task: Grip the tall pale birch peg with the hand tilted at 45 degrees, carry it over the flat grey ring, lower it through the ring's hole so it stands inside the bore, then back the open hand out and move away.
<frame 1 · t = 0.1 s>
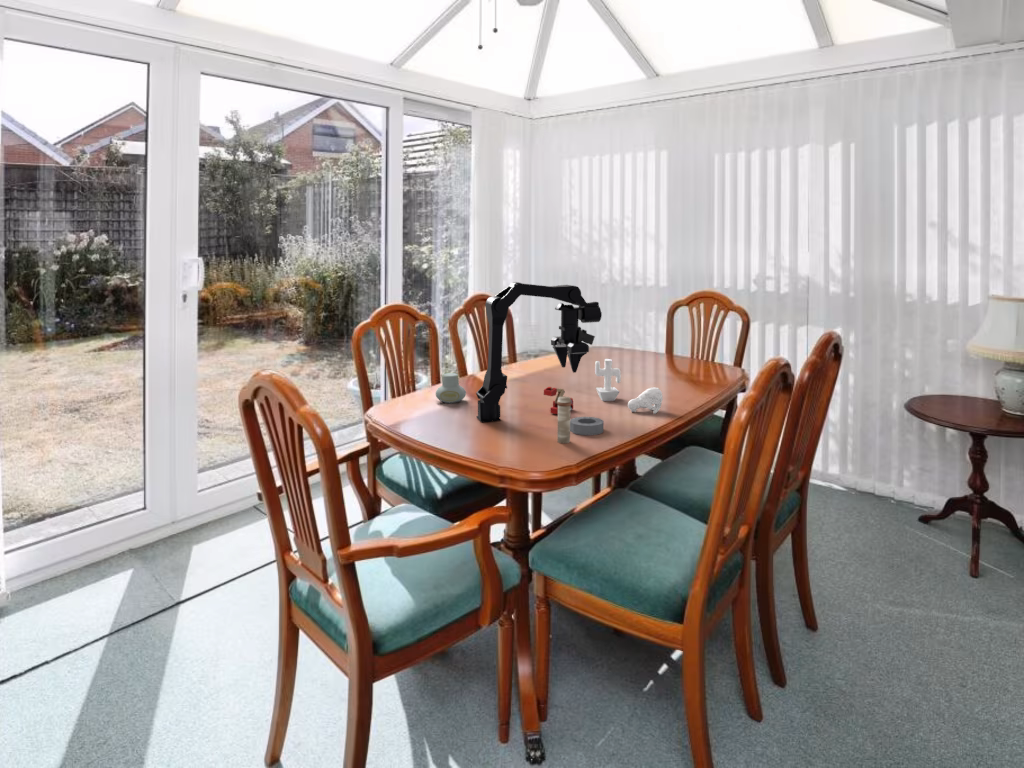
hand: (569, 369, 216), 15 cm above the table, tool pointing down, fingers open, 9 cm apart
figurine: (607, 399, 236), on the table
toy fire truck: (559, 413, 218), on the table
air freshener: (451, 402, 234), on the table
birch peg: (563, 441, 187), on the table
grey ring: (586, 430, 197), on the table
white animal statue: (644, 412, 219), on the table
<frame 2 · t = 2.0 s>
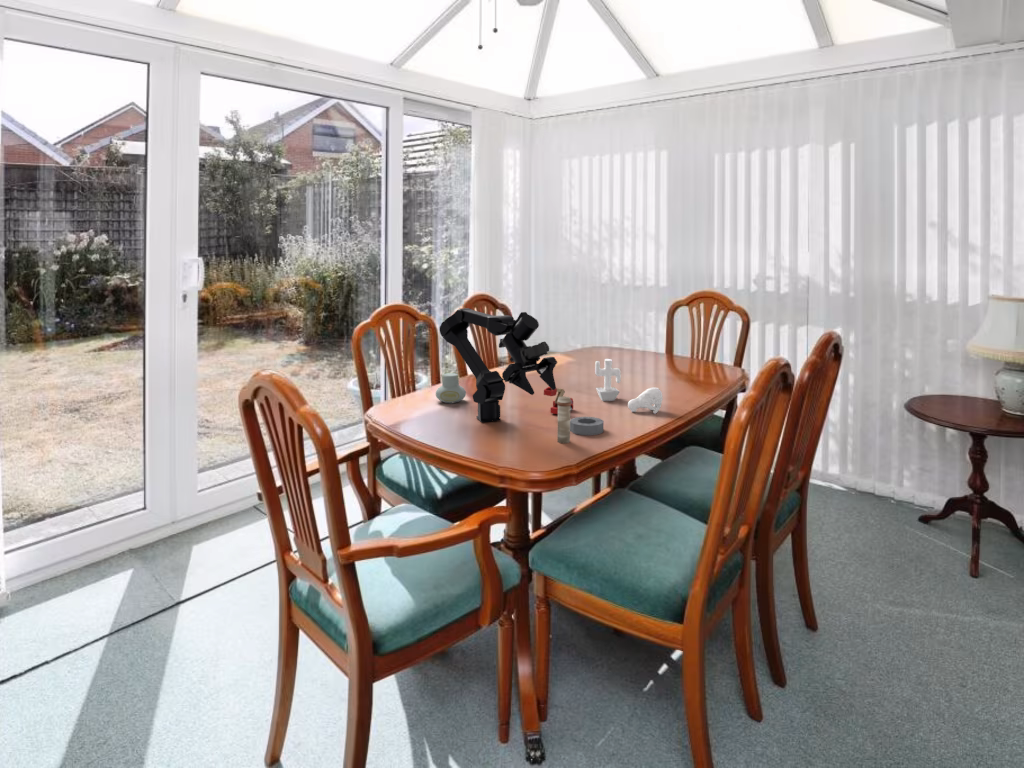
hand: (544, 391, 189), 13 cm above the table, tool tilted 45°, fingers open, 9 cm apart
nothing on the table moved.
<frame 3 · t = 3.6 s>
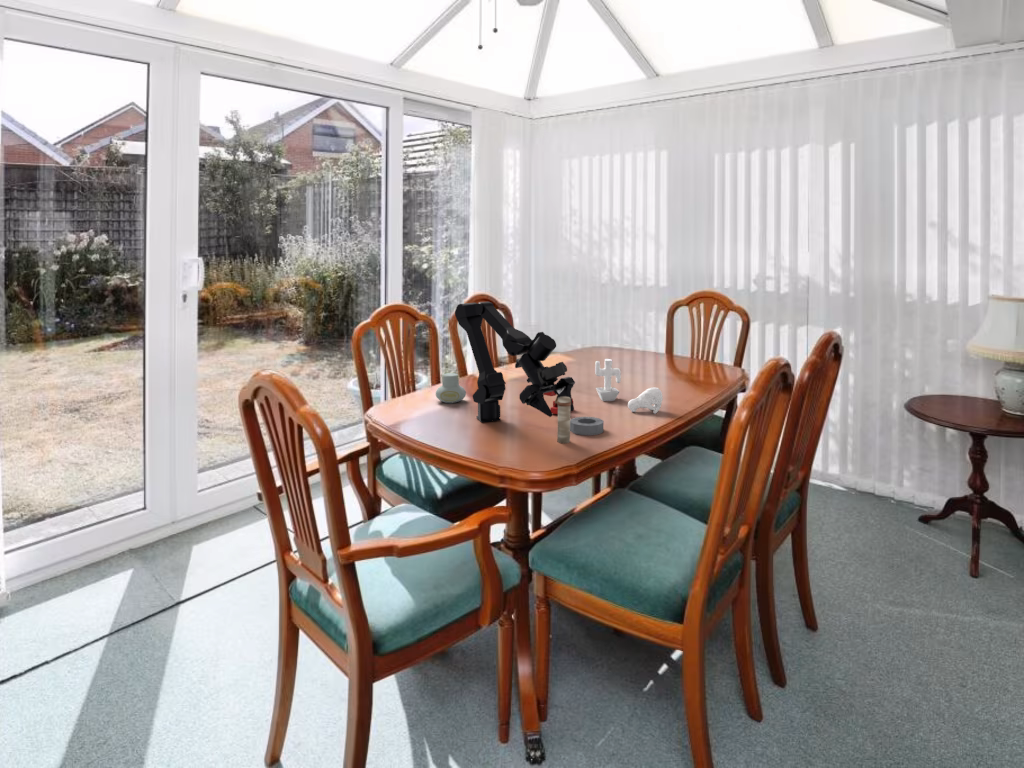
hand: (562, 413, 185), 8 cm above the table, tool tilted 45°, fingers open, 9 cm apart
nothing on the table moved.
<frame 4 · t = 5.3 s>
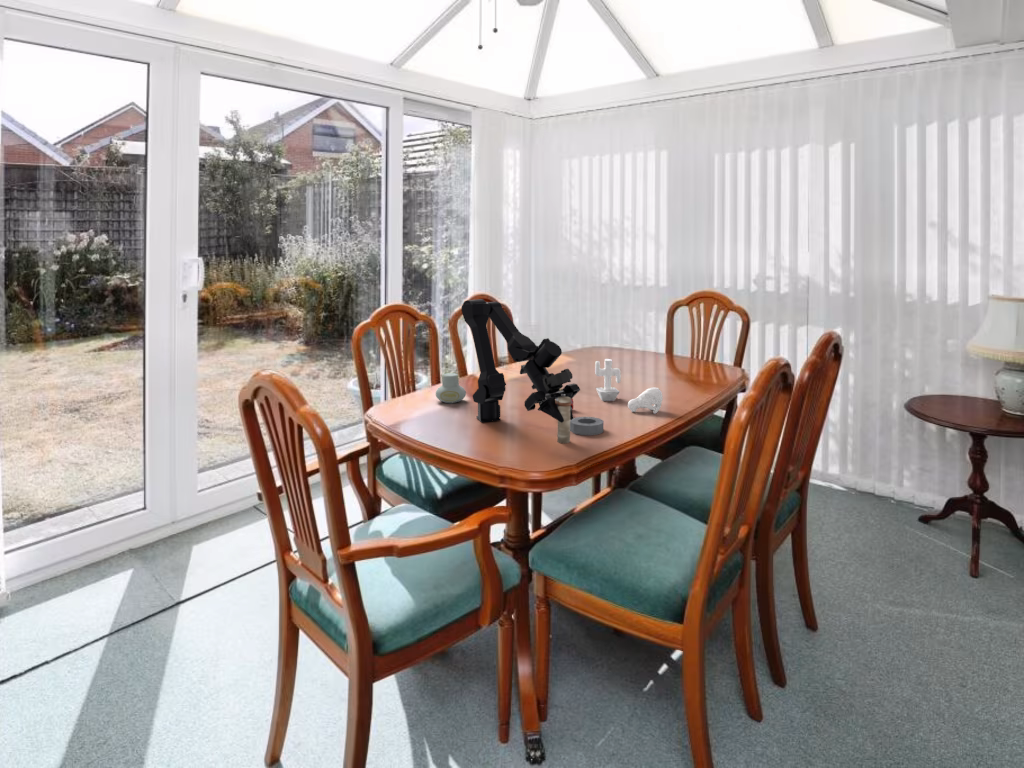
hand: (567, 420, 184), 7 cm above the table, tool tilted 45°, fingers closed on birch peg, 4 cm apart
birch peg: (563, 441, 187), on the table, touching gripper
everything else where it was.
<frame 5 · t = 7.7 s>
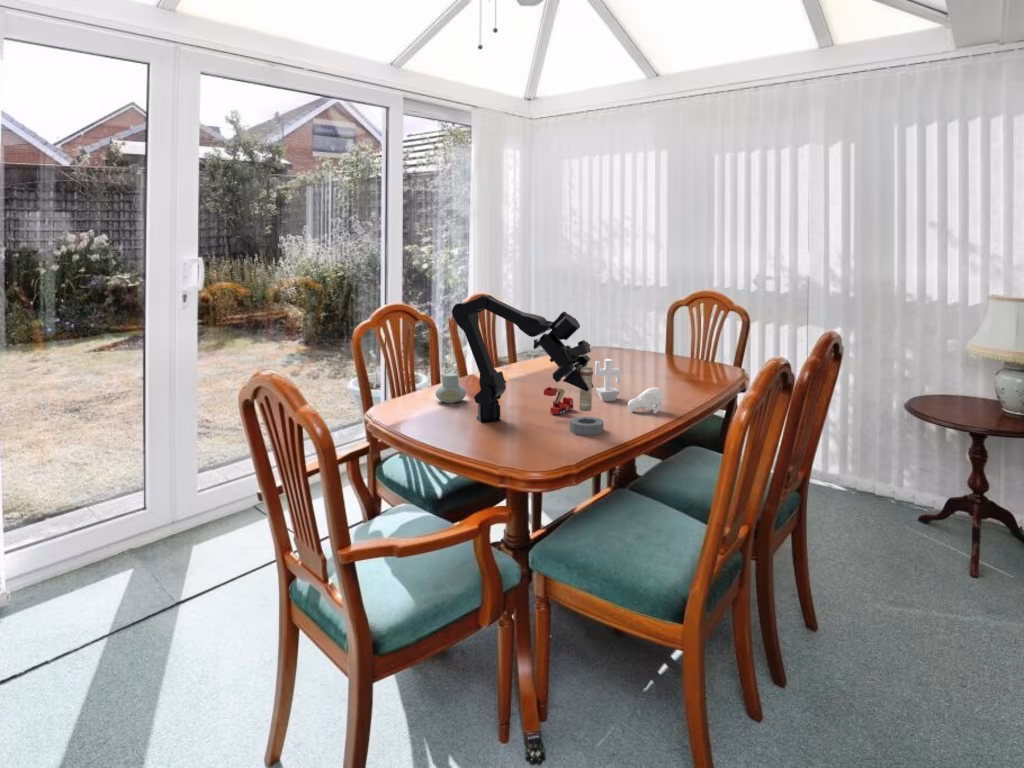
hand: (590, 389, 193), 13 cm above the table, tool tilted 45°, fingers closed on birch peg, 4 cm apart
birch peg: (585, 409, 195), point 7 cm above the table, touching gripper
everything else where it was.
when the fingers open (8 cm above the table, at t = 10.3 s): birch peg stays where it is, resting in grey ring.
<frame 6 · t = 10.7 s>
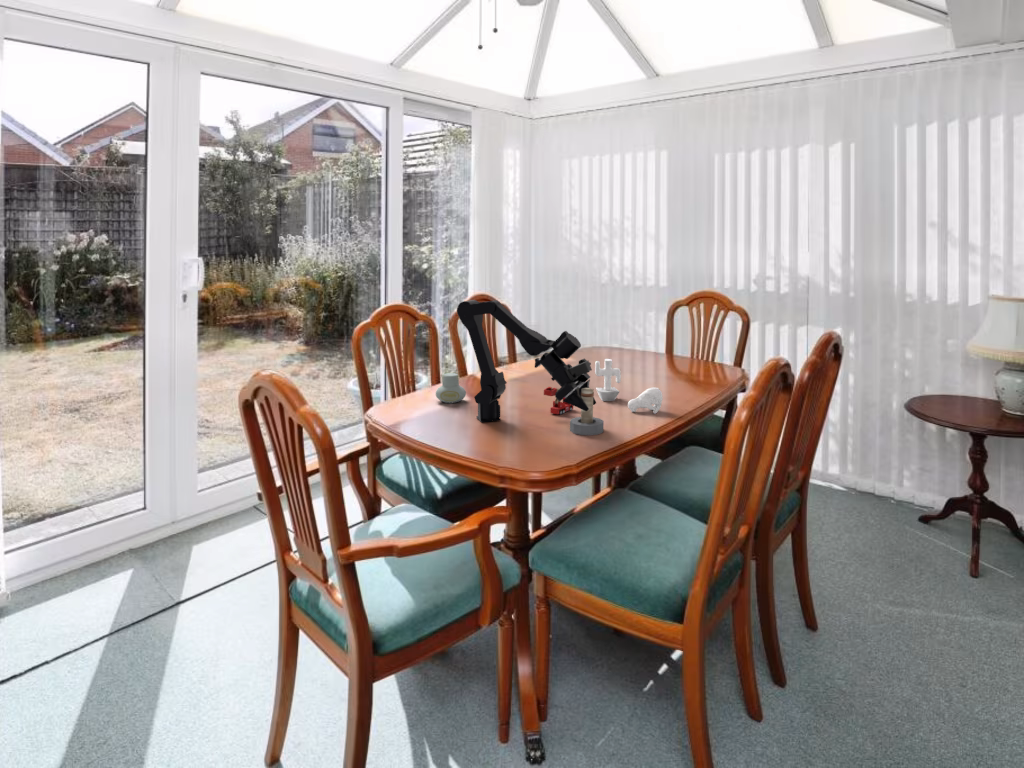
hand: (591, 407, 195), 8 cm above the table, tool tilted 45°, fingers open, 8 cm apart
birch peg: (586, 430, 197), resting in grey ring
everything else where it was.
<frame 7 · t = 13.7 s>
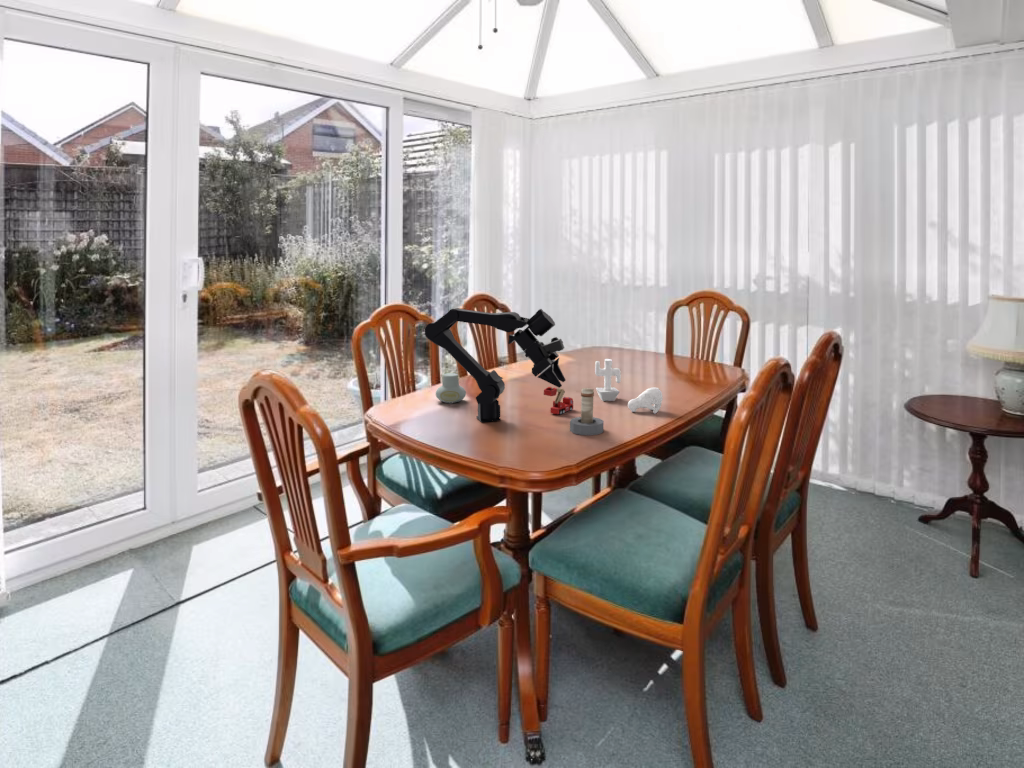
hand: (562, 384, 201), 13 cm above the table, tool tilted 40°, fingers open, 9 cm apart
nothing on the table moved.
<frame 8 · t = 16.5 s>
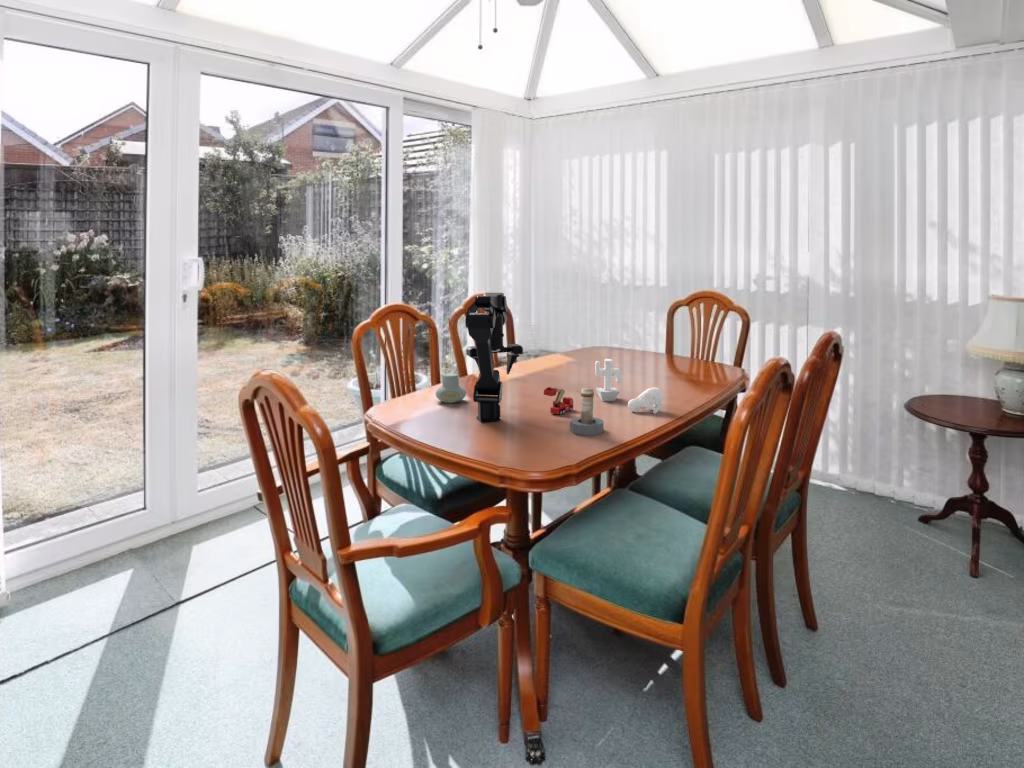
hand: (494, 375, 220), 12 cm above the table, tool pointing down, fingers open, 9 cm apart
nothing on the table moved.
at the end: birch peg 0.0 cm from the grey ring (horizontally); birch peg resting in grey ring; birch peg tilted 0° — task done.
